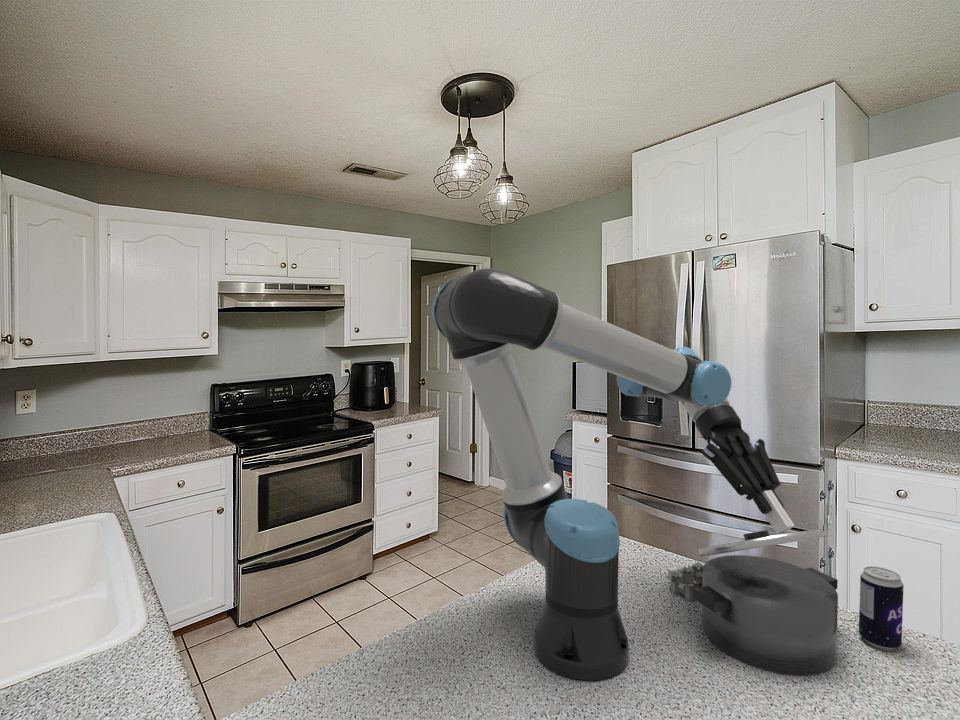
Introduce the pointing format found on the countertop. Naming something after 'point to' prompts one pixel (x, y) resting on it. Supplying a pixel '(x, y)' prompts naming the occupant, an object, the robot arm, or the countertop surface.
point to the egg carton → (686, 580)
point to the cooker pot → (770, 613)
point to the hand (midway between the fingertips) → (785, 529)
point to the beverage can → (881, 608)
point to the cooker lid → (761, 541)
